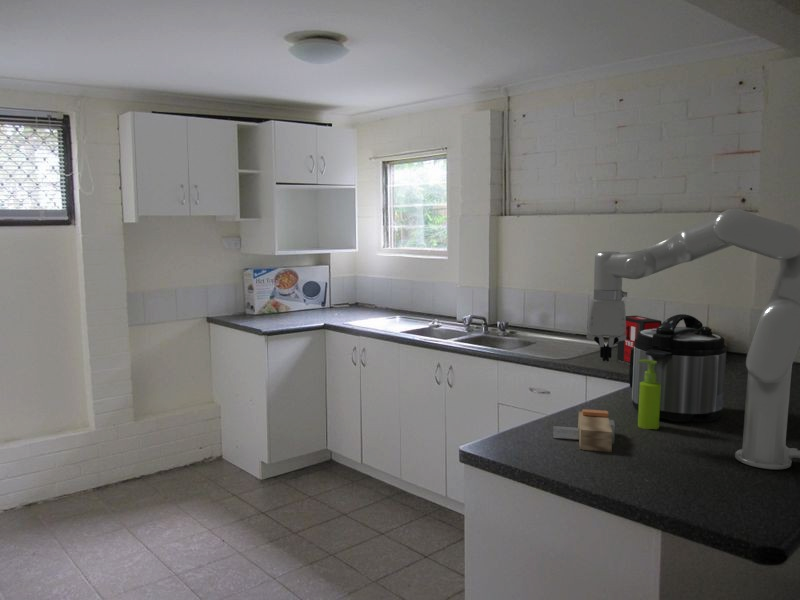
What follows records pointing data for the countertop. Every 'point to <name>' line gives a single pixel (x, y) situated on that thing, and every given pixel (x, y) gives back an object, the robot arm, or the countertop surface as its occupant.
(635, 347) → the pressure cooker
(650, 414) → the soap dispenser
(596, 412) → the bar
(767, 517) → the countertop surface
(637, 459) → the countertop surface
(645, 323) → the cleaning product box
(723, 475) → the countertop surface
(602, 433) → the block
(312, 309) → the countertop surface
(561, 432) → the lynch pin
